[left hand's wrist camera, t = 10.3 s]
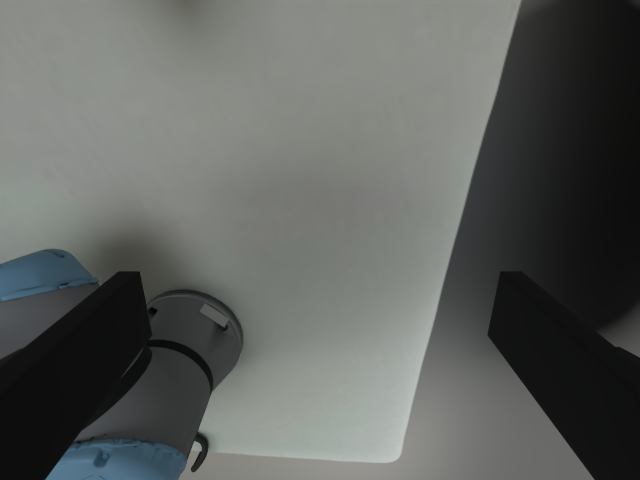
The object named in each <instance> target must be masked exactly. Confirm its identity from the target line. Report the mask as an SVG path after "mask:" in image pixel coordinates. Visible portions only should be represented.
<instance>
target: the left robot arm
mask: <svg viewBox="0 0 640 480" xmlns="http://www.w3.org/2000/svg"><path fill="white" fill-rule="evenodd" d="M98 282H99V281H98V279H97V278H94V277H92V276H91V275H90V274H89V273H88V271H87V270H86V269H85V268H84V267H83V266H82V265H81V264H80V263H79V262H78V261H77V259H76V258H75V257H74V256H73V255H72V254H70V253H69V252H67V251H64V250H60V249H45V250H41V251H38V252H34V253H31V254H28V255H25V256H22V257H19V258H16V259H14V260H11V261H8V262H5V263H2V264H0V480H178V479H179V477H180V474H181V473H182V472H183V471H184V469H185V466H186V462H187V459H188V457H189V454H190V451H191V448H192V446H193V443H194V441H197V442H199V443H200V444H201V446H202V451H200V452H199V454H198V456H197V459H196V461H195V463H194V464H193V466H192V468H191V471H192V472H195V471H196V470H197V469H198V468H199V467H200V465H201V464H202V463H203V461H204V459H205V458H206V455H207V452H208V443H207V441H206V439H205V438H204V437H202V436H200V435H197V432H198V429H199V426H200V423H201V421H202V418H203V415H204V412H205V409H206V407H207V404H208V401H209V398H210V396H211V393H212V391H213V390H214V389H215V388H216V387H217V386H218V385H219V384H220V383H221V382H222V380H223V379H224V378H225V377H226V376H227V375H228V374H229V373H230V372H231V370H232V369H233V368H234V366H235V365H236V363H237V361H238V358H239V355H240V352H241V349H242V343H243V337H242V331H241V328H240V325H239V323H238V321H237V319H236V317H235V316H234V315H233V313H232V312H231V311H230V310H229V309H228V308H227V307H226V306H225V305H224V304H222V303H221V302H220V301H218V300H216V299H215V298H213V297H211V296H208V295H206V294H203V293H199V292H195V291H188V290H178V291H171V292H167V293H164V294H161V295H159V296H157V297H155V298H154V299H152V300H151V301H150V302H149V303H148V304H147V305H146V301H145V296H144V291H143V286H142V281H141V276H140V272H117V273H116V274H115V275H114V276H112V277H111V278H110V279H109V280H107V281H106V282H105V283H104V284H102V285H101V286H100V285H99V284H98ZM488 336H489V338H490V339H491V341H492V342H493V343H494V345H495V346H496V347H497V349H498V350H499V351H500V353H501V354H502V355H503V357H504V358H505V359H506V361H507V362H508V363H509V365H510V366H511V367H512V369H513V370H514V372H515V373H516V374H517V375H518V377H519V378H520V380H521V381H522V382H523V384H524V385H525V386H526V388H527V389H528V390H529V392H530V393H531V394H532V396H533V397H534V399H535V400H536V401H537V403H538V404H539V405H540V407H541V408H542V409H543V411H544V412H545V413H546V415H547V416H548V417H549V419H550V420H551V421H552V423H553V424H554V425H555V427H556V428H557V429H558V431H559V432H560V434H561V435H562V436H563V438H564V439H565V440H566V442H567V443H568V444H569V446H570V447H571V448H572V450H573V451H574V452H575V454H576V455H577V457H578V458H579V459H580V461H581V462H582V463H583V464H584V466H585V467H586V469H587V470H588V471H589V473H590V474H591V475H592V477H593V478H594V479H595V480H640V358H639V357H638V356H636V355H634V354H632V353H630V352H628V351H626V350H624V349H622V348H621V347H614V346H613V345H612V344H611V343H610V342H608V341H607V340H606V339H604V338H603V337H602V336H601V335H600V334H598V333H597V332H596V331H595V330H593V329H592V328H591V327H590V326H588V325H587V324H586V323H585V322H583V321H582V320H581V319H580V318H579V317H577V316H576V315H575V314H574V313H572V312H571V311H570V310H569V309H567V308H566V307H565V306H564V305H562V304H561V303H560V302H559V301H557V300H556V299H555V298H554V297H552V296H551V295H550V294H549V293H548V292H546V291H545V290H544V289H543V288H541V287H540V286H539V285H538V284H536V283H535V282H534V281H533V280H531V279H530V278H529V277H528V276H526V275H525V274H524V273H523V272H500V276H499V281H498V286H497V291H496V296H495V301H494V306H493V310H492V315H491V320H490V325H489V330H488Z"/></svg>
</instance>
